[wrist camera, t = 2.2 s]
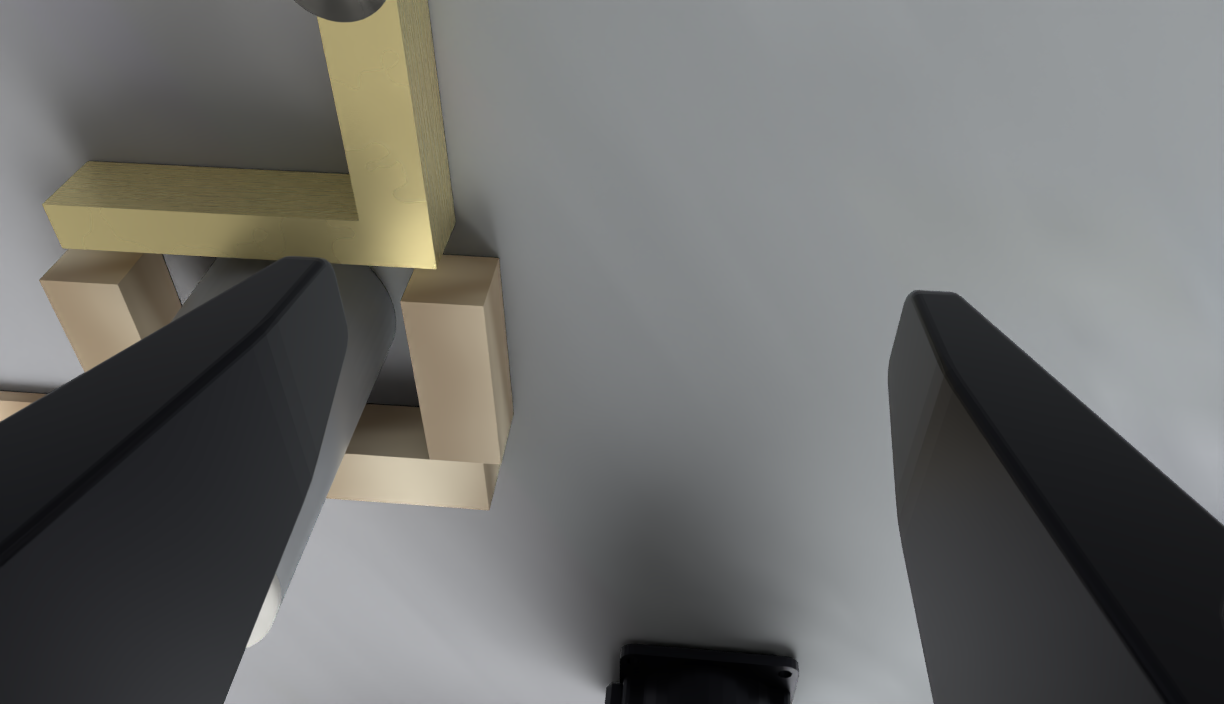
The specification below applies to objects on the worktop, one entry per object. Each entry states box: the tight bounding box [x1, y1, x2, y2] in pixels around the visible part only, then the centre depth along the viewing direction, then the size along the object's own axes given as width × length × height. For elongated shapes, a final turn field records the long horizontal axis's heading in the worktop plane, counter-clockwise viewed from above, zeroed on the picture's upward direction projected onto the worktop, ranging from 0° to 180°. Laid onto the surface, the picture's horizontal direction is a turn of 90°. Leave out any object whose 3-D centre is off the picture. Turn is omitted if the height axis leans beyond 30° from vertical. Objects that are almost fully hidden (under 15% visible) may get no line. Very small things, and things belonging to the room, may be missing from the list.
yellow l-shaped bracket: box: [42, 0, 456, 269], centre depth 19 cm, size 9×9×3 cm
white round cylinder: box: [170, 257, 396, 648], centre depth 22 cm, size 5×5×9 cm
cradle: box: [39, 249, 514, 510], centre depth 25 cm, size 11×8×2 cm
